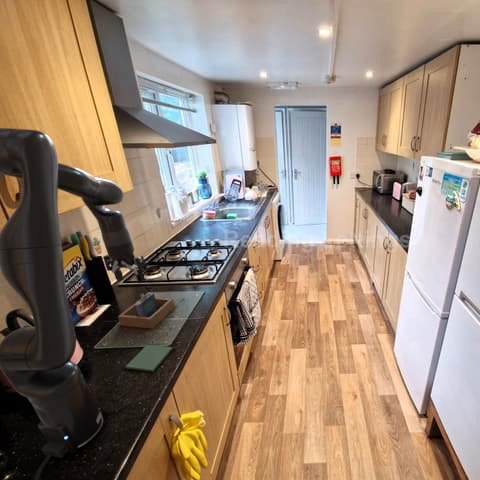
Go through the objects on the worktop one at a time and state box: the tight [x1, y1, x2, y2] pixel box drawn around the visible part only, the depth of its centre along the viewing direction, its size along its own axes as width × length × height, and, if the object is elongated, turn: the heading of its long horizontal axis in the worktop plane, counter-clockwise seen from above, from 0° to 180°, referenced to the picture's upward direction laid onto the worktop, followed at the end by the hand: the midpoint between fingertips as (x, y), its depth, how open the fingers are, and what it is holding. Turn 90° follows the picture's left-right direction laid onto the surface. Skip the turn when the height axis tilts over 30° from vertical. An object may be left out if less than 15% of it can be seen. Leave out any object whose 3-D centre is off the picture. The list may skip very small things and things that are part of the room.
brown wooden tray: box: [117, 297, 176, 330], centre depth 112 cm, size 14×14×4 cm
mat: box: [125, 344, 174, 372], centre depth 91 cm, size 10×10×1 cm
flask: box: [134, 292, 159, 317], centre depth 111 cm, size 9×3×11 cm, turn 172°
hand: (131, 281), depth 97 cm, fingers open, 8 cm apart
